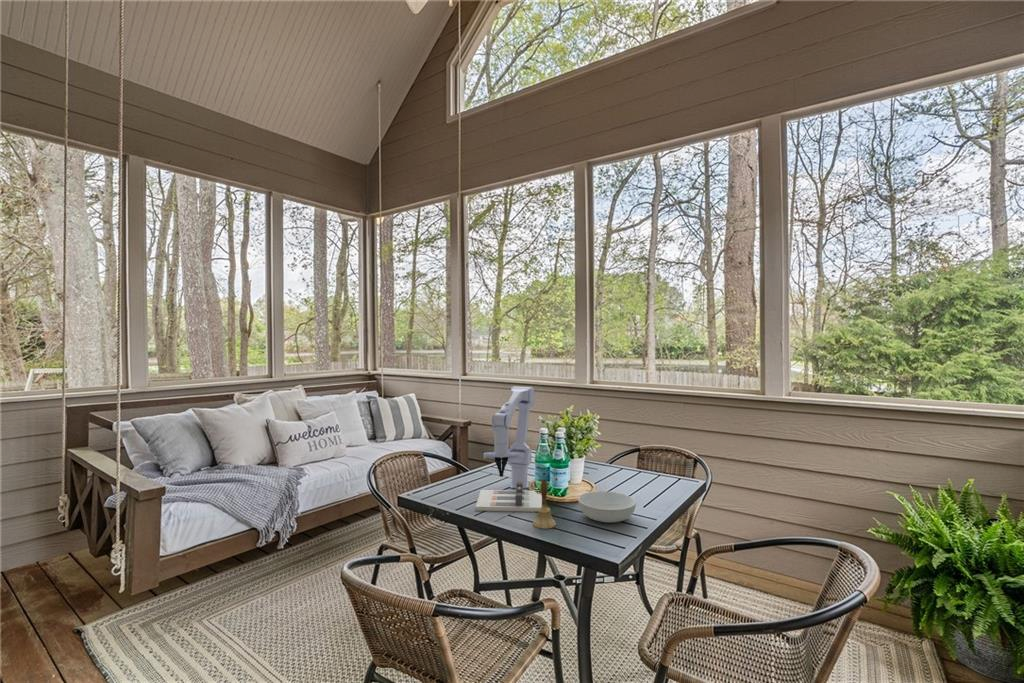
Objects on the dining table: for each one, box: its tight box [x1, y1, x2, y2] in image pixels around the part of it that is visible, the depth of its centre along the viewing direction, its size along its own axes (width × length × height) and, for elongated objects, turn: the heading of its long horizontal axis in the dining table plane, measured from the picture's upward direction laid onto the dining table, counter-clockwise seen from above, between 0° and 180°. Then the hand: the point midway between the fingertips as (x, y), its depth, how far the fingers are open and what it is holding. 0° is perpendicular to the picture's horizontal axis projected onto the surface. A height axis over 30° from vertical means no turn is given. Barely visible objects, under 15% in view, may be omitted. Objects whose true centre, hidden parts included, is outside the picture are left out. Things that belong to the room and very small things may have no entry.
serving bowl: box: [577, 490, 637, 524], centre depth 175 cm, size 21×21×7 cm
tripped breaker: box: [515, 487, 522, 493], centre depth 191 cm, size 3×2×4 cm
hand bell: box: [532, 478, 557, 530], centre depth 169 cm, size 8×8×16 cm
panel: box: [474, 482, 542, 513], centre depth 191 cm, size 20×26×6 cm
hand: (501, 475), depth 194 cm, fingers closed
